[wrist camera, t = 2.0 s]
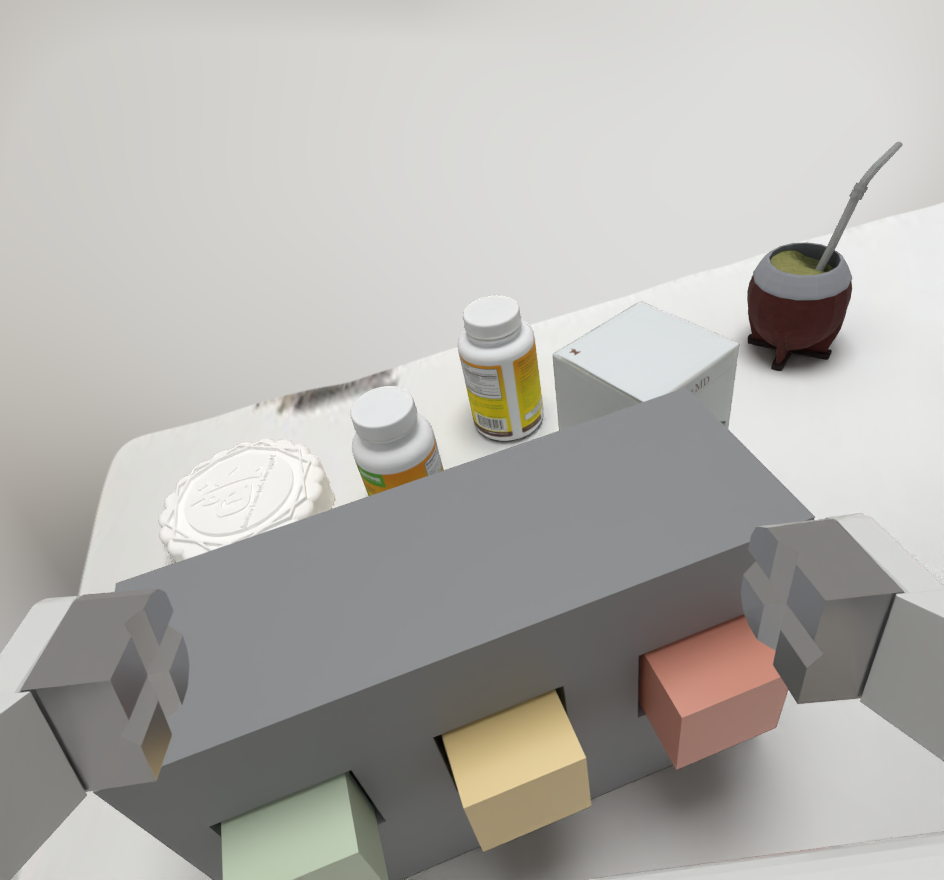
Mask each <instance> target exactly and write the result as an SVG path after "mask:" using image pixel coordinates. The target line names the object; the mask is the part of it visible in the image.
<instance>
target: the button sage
mask: <svg viewBox="0 0 944 880" xmlns="http://www.w3.org/2000/svg"><path fill="white" fill-rule="evenodd" d="M221 837H222V869H223V880H388V875H387V870H386V865H385V860H384V854H383V849H382V844H381V839H380V834H379V829H378V824H377V819H376V814H375V809H374V808H373V806H372V805H371V803H370V802H369V800H368V799H367V797H366V796H365V794H364V793H363V791H362V790H361V789H360V787H359V786H358V784H357V783H356V781H355V780H354V778H353V777H352V775H351V774H350V773H349V771H348V772H345V773H343V774H340V775H338V776H335V777H333V778H330V779H328V780H325V781H323V782H320V783H317V784H315V785H312V786H310V787H307V788H305V789H302V790H300V791H297V792H295V793H292V794H290V795H287V796H285V797H282V798H280V799H277V800H275V801H272V802H270V803H267V804H265V805H262V806H260V807H257V808H255V809H252V810H250V811H247V812H245V813H242V814H240V815H237V816H234V817H232V818H229V819H227V820H224V821H222V822H221Z"/></svg>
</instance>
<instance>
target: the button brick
mask: <svg viewBox="0 0 944 880" xmlns="http://www.w3.org/2000/svg"><path fill="white" fill-rule="evenodd" d="M775 652H776V651H775V650H773V649H772V648H770V647H768V646H767V645H765V644H763V643H762V642H760V641H758V640H757V639H756V637H755V635H754V634H753V632H752V630H751V629H750V627H749V625H748V622H747V620H746V617H745V614H743V615H740V616H738V617H735V618H732V619H730V620H727V621H725V622H722V623H720V624H717V625H715V626H712V627H710V628H707V629H705V630H702V631H700V632H697V633H695V634H692V635H690V636H687V637H685V638H682V639H680V640H677V641H675V642H672V643H670V644H667V645H665V646H662V647H660V648H657V649H655V650H652V651H649V652H647V653H644V654H642V655H639V703H640V705H641V707H642V708H643V710H644V712H645V714H646V716H647V718H648V719H649V721H650V723H651V725H652V727H653V728H654V730H655V732H656V734H657V736H658V738H659V739H660V741H661V743H662V745H663V747H664V748H665V750H666V752H667V754H668V756H669V758H670V759H671V761H672V763H673V765H674V767H675V768H676V770H678V769H680V768H682V767H685V766H687V765H689V764H692V763H694V762H696V761H699V760H701V759H703V758H706V757H708V756H711V755H713V754H715V753H718V752H720V751H722V750H725V749H727V748H729V747H732V746H734V745H736V744H739V743H741V742H743V741H746V740H748V739H750V738H753V737H755V736H758V735H760V734H762V733H765V732H767V731H769V730H772V729H774V728H776V727H777V724H778V721H779V717H780V714H781V711H782V708H783V705H784V702H785V698H786V695H787V692H788V688H787V686H786V685H785V683H784V682H783V680H782V679H781V677H780V675H779V674H778V672H777V671H776V669H775V668H774V666H773V661H774V656H775Z"/></svg>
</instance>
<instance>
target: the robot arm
mask: <svg viewBox="0 0 944 880" xmlns="http://www.w3.org/2000/svg"><path fill="white" fill-rule="evenodd" d="M748 550H749V552H750V553H751V555H752V556H753V557H754V559H755V560H756V561H755V562H754V564H753V565H752V566H751V567H750V568H749V569H748V570H747V571H746V572H745V573H744V574H743V580H742V587H741V598H742V605H743V612H744V614H745V617H746V620H747V622H748V625H749V627H750V629H751V630H752V632H753V634H754V635H755V637H756V639H757V640H758V641H760V642H762V643H763V644H765V645H767V646H768V647H770V648H772V649H773V650H775V651H776V652H775V656H774V661H773V666H774V668H775V669H776V671H777V672H778V674H779V675H780V677H781V679H782V680H783V682H784V683H785V685H786V686H787V688H788V690H789V691H790V693H791V694H792V696H793V698H794V699H795V701H796V702H797V704H803V703H814V702H825V701H835V700H846V699H857V698H861V700H860V702H862V703H863V704H864V705H866V706H867V707H869V708H870V709H871V710H873V711H874V712H876V713H877V714H878V715H880V716H881V717H883V718H884V719H885V720H887V721H888V722H890V723H891V724H892V725H894V726H895V727H897V728H898V729H899V730H901V731H902V732H904V733H905V734H906V735H908V736H909V737H911V738H912V739H913V740H915V741H916V742H918V743H919V744H920V745H922V746H923V747H924V748H926V749H927V750H929V751H930V752H931V753H933V754H934V755H936V756H937V757H938V758H940V759H941V760H943V761H944V585H942V584H941V583H940V582H939V581H938V580H937V579H936V578H935V577H934V576H933V575H932V574H931V573H930V572H929V571H928V570H927V569H926V568H925V567H924V566H922V565H921V564H920V563H919V562H918V561H917V560H916V559H915V558H914V557H913V556H912V555H911V554H910V553H909V552H908V551H907V550H906V549H905V548H904V547H902V546H901V545H900V544H899V543H898V542H897V541H896V540H895V539H894V538H893V537H892V536H891V535H890V534H889V533H888V532H887V531H886V530H885V529H884V528H882V527H881V526H880V525H879V524H878V523H877V522H876V521H875V520H874V519H873V518H871V517H869V516H867V515H864V514H862V513H860V514H852V515H844V516H836V517H829V518H826V519H819V520H810V521H801V522H792V523H783V524H774V525H765V526H756V528H755V530H754V531H753V533H752V534H751V537H750V542H749V547H748ZM173 611H174V610H173V608H172V606H171V603H170V601H169V598H168V596H167V594H166V592H164V591H162V590H160V589H148V590H136V591H124V592H112V593H100V594H88V595H83V596H70V597H59V598H48V599H44V600H42V601H40V602H38V603H36V604H34V605H33V607H32V608H31V610H30V611H29V613H28V614H27V615H26V617H25V619H24V620H23V621H22V623H21V625H20V626H19V627H18V629H17V630H16V632H15V634H14V635H13V636H12V638H11V639H10V641H9V642H8V643H7V645H6V647H5V648H4V649H3V651H2V653H1V654H0V880H10V879H11V878H12V877H13V876H14V875H15V874H16V873H17V872H18V871H19V870H20V869H21V867H22V866H23V865H24V864H25V863H26V862H27V861H28V860H29V859H30V858H31V856H32V855H33V854H34V853H35V852H36V851H37V850H38V849H39V848H40V847H41V845H42V844H43V843H44V842H45V841H46V840H47V839H48V838H49V837H50V836H51V834H52V833H53V832H54V831H55V830H56V829H57V828H58V827H59V826H60V824H61V823H62V822H63V821H64V820H65V819H66V818H67V817H68V816H69V815H70V813H71V812H72V811H73V810H74V809H75V808H76V807H77V806H78V805H79V804H80V802H81V801H82V800H83V799H84V798H85V797H86V796H87V794H86V792H87V791H94V790H101V789H108V788H114V787H121V786H128V785H135V784H141V783H148V782H155V781H157V778H158V775H159V772H160V769H161V766H162V763H163V760H164V758H165V755H166V752H167V749H168V746H169V743H170V740H171V737H172V733H171V730H170V728H169V725H168V723H167V719H168V718H169V717H170V716H171V715H173V714H174V713H175V712H176V711H177V710H178V709H179V708H180V707H181V706H182V704H183V701H184V698H185V694H186V691H187V688H188V678H189V666H190V664H189V657H188V650H187V646H186V644H185V641H184V638H183V635H182V634H180V633H179V632H177V631H176V630H174V629H173V628H171V627H170V626H168V624H169V621H170V619H171V616H172V614H173ZM585 880H944V831H942V832H935V833H927V834H920V835H912V836H905V837H897V838H890V839H882V840H875V841H867V842H860V843H852V844H845V845H838V846H830V847H823V848H815V849H808V850H800V851H793V852H786V853H778V854H771V855H763V856H756V857H748V858H741V859H734V860H726V861H719V862H711V863H704V864H696V865H689V866H681V867H674V868H667V869H659V870H652V871H644V872H637V873H629V874H622V875H615V876H607V877H600V878H592V879H585Z"/></svg>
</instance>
